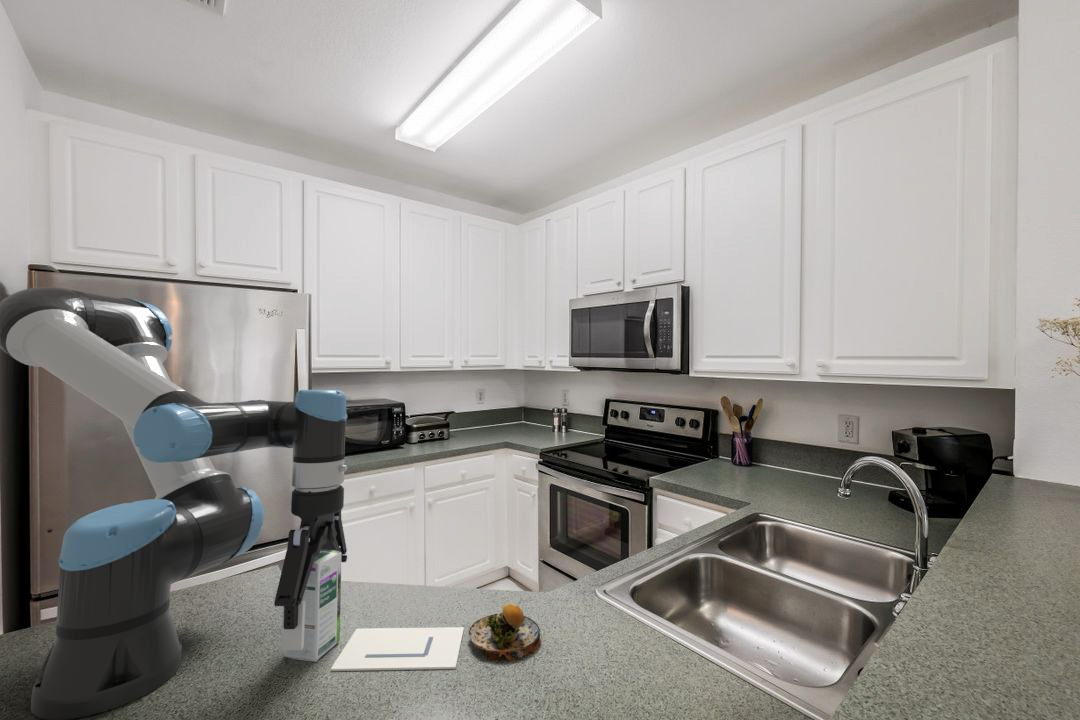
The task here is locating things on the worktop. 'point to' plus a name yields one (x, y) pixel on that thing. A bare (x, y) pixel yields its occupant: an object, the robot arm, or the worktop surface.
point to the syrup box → (321, 607)
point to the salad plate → (506, 634)
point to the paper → (401, 649)
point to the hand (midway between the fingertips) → (313, 624)
